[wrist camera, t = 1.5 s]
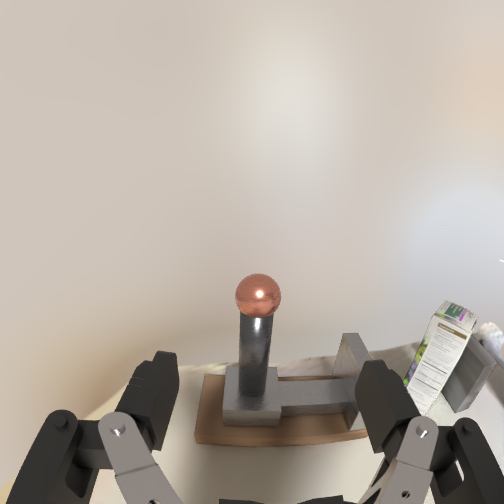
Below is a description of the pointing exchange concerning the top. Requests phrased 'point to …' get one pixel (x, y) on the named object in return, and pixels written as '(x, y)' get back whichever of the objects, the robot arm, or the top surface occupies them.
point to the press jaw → (266, 379)
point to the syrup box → (439, 353)
